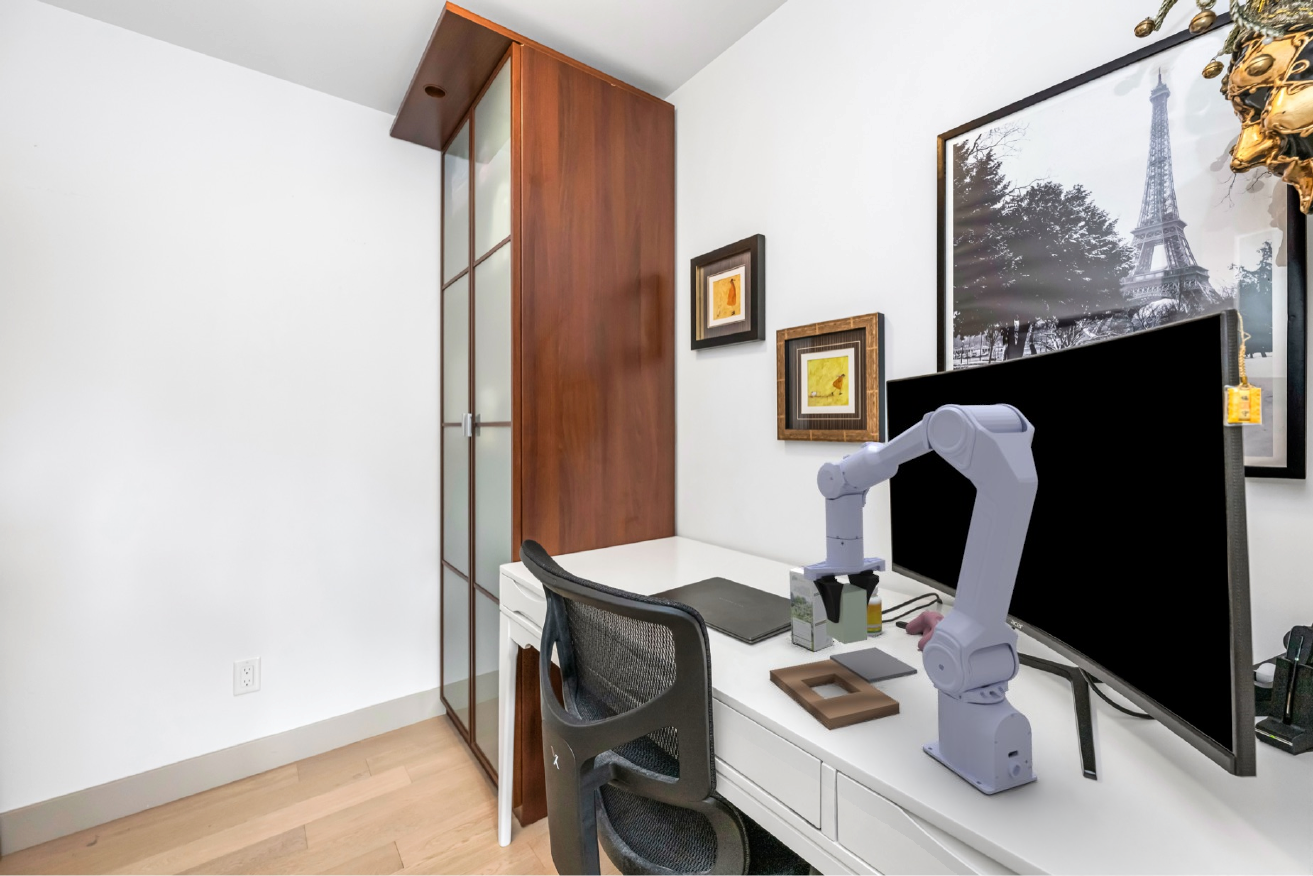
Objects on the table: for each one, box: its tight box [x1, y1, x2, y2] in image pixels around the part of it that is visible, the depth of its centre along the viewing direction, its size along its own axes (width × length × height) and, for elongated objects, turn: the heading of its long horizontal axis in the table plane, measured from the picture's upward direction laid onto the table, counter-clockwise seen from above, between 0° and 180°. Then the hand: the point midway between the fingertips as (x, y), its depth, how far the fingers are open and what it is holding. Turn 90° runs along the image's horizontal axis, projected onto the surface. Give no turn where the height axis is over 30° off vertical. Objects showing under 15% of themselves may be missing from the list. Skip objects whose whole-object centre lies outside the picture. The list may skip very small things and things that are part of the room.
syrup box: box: [789, 565, 834, 652], centre depth 103 cm, size 6×6×14 cm
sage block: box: [826, 582, 868, 645], centre depth 87 cm, size 4×4×8 cm
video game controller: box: [905, 608, 945, 652], centre depth 102 cm, size 10×5×7 cm, turn 169°
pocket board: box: [769, 658, 901, 731], centre depth 83 cm, size 16×12×2 cm
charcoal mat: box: [829, 646, 918, 684], centre depth 93 cm, size 10×10×1 cm
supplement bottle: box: [867, 585, 883, 637], centre depth 108 cm, size 5×5×10 cm
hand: (846, 619), depth 87 cm, fingers closed on sage block, 4 cm apart
